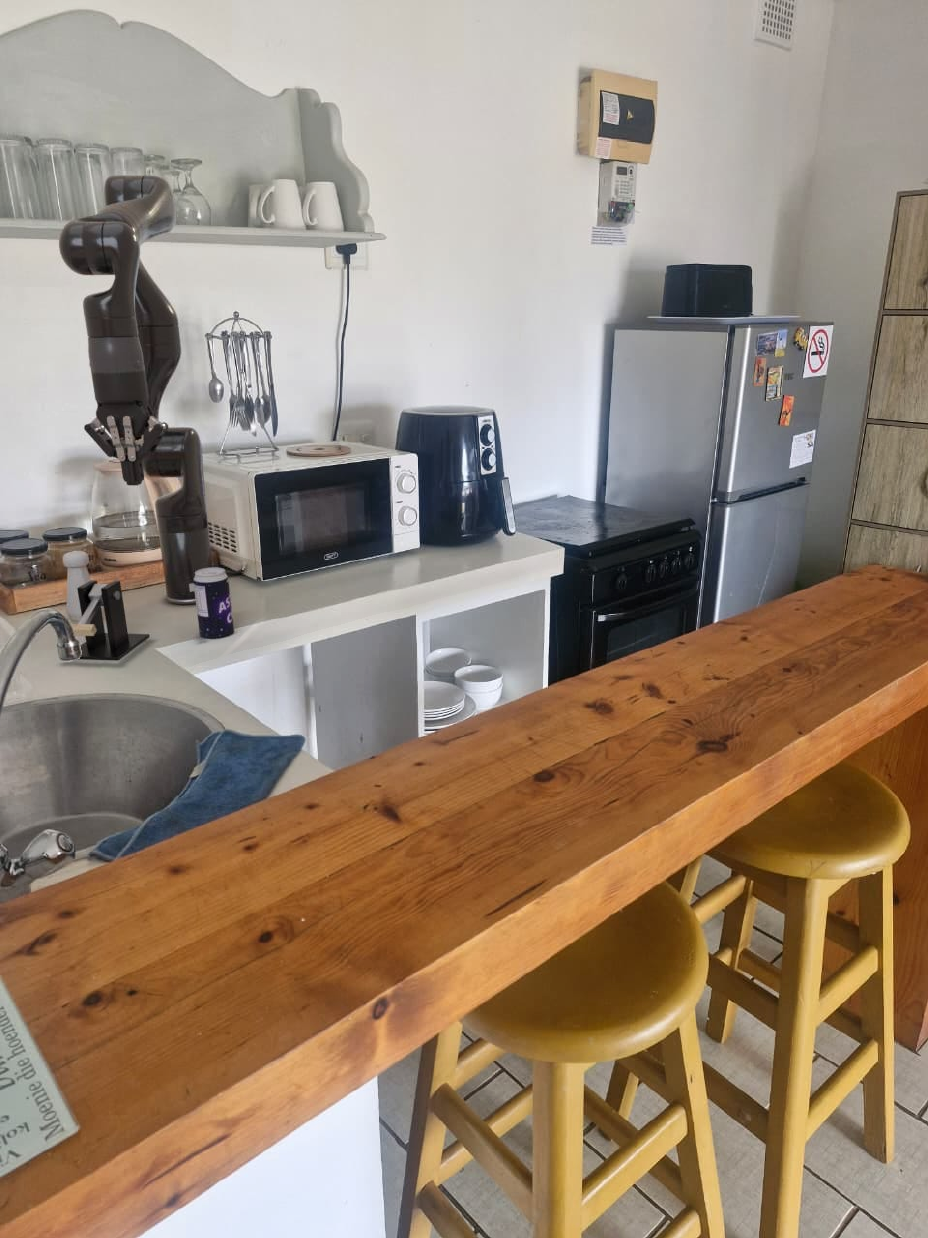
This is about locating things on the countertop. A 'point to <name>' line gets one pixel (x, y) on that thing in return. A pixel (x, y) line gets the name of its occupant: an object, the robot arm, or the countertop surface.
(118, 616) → the lever switch base
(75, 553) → the salt shaker
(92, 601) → the switch lever
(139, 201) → the robot arm
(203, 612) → the beverage can
